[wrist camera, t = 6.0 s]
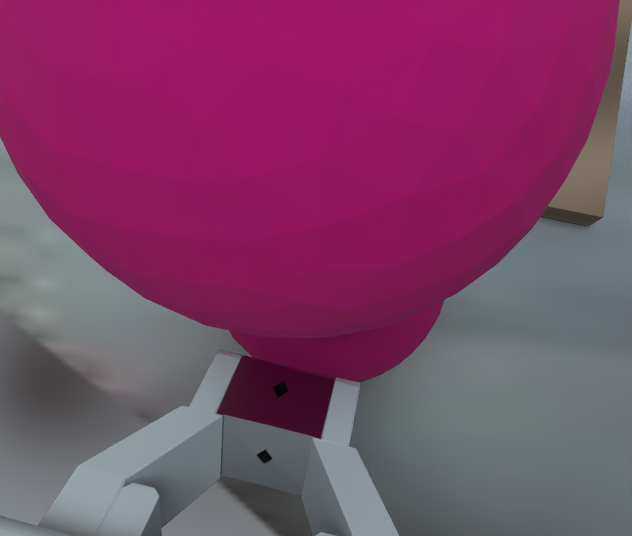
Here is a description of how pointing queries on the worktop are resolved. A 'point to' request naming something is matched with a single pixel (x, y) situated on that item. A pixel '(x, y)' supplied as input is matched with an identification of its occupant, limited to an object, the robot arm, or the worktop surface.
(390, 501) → the worktop surface
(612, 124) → the walnut board
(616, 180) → the worktop surface
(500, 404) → the worktop surface
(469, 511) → the worktop surface
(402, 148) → the pepper mill
